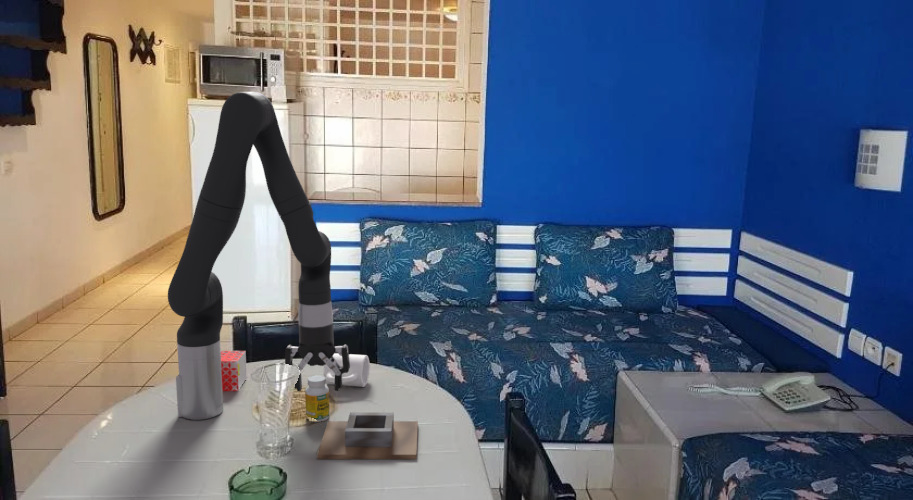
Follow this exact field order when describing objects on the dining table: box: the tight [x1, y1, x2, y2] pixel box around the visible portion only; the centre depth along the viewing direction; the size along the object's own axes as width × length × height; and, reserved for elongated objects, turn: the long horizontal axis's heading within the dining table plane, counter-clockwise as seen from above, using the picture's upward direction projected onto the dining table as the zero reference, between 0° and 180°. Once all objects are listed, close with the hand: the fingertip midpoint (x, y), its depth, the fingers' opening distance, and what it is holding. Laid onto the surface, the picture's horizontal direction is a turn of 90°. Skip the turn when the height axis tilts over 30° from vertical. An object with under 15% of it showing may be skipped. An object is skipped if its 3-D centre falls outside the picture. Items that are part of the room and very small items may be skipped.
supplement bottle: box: [304, 374, 330, 423], centre depth 165 cm, size 5×5×10 cm
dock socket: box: [316, 411, 419, 460], centre depth 154 cm, size 20×16×4 cm
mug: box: [323, 352, 371, 388], centre depth 184 cm, size 12×10×8 cm
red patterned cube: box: [221, 350, 248, 392], centre depth 183 cm, size 8×8×8 cm
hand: (318, 389), depth 164 cm, fingers open, 8 cm apart
